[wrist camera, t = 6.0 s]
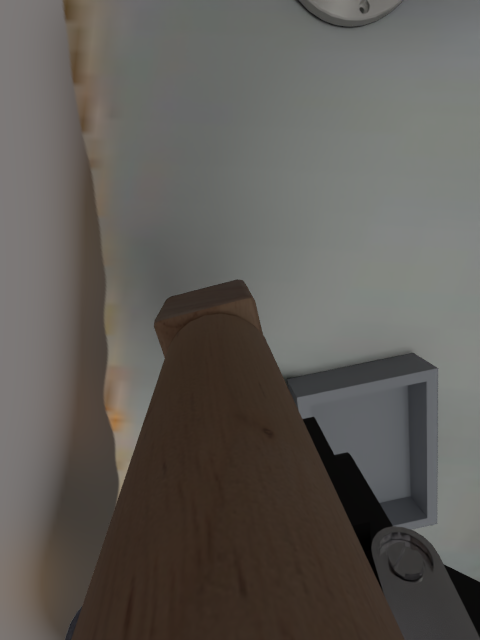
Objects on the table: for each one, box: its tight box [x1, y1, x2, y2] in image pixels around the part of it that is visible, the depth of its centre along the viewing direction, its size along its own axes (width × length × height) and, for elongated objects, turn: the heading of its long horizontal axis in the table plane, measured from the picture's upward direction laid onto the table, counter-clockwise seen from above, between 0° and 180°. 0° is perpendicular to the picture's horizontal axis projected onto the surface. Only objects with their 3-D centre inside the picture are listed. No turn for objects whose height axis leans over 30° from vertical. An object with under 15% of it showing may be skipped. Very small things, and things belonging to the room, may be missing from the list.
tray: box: [287, 353, 438, 530], centre depth 36 cm, size 20×14×4 cm
